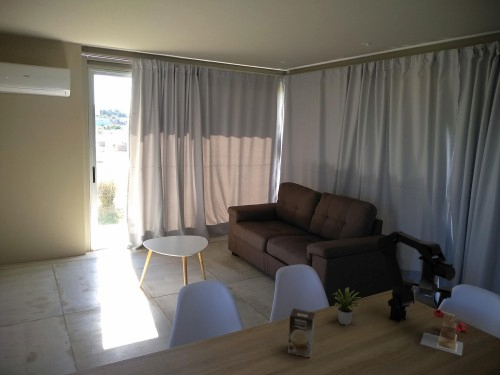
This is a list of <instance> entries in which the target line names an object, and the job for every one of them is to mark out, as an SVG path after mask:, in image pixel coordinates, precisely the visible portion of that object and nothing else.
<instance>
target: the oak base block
mask: <svg viewBox="0 0 500 375" xmlns="http://www.w3.org/2000/svg"><path fill="white" fill-rule="evenodd" d="M438 336H439V345H438V346H441V347H444V348H448V349H451V350H455V347H456V341H457V338H458V335H457V334H456V335H455V340H451V339H448V338H444V337H441V331H440V333H439V335H438Z"/></svg>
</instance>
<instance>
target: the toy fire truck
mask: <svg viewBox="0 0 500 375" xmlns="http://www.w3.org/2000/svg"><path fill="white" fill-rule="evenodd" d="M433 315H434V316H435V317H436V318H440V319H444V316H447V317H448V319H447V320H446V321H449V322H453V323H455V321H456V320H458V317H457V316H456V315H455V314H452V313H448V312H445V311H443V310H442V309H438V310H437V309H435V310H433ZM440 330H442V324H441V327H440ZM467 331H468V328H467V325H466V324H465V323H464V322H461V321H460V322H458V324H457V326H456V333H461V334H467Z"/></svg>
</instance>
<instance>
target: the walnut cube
mask: <svg viewBox="0 0 500 375" xmlns="http://www.w3.org/2000/svg"><path fill="white" fill-rule="evenodd" d="M441 325H442V329H440V332H441V337H444V338H448V339H451V340H455V335H457V334H456V333H457V332H456V326H457V327H458V323H456V322H449V321H447V320H443V319H442V324H441Z"/></svg>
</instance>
